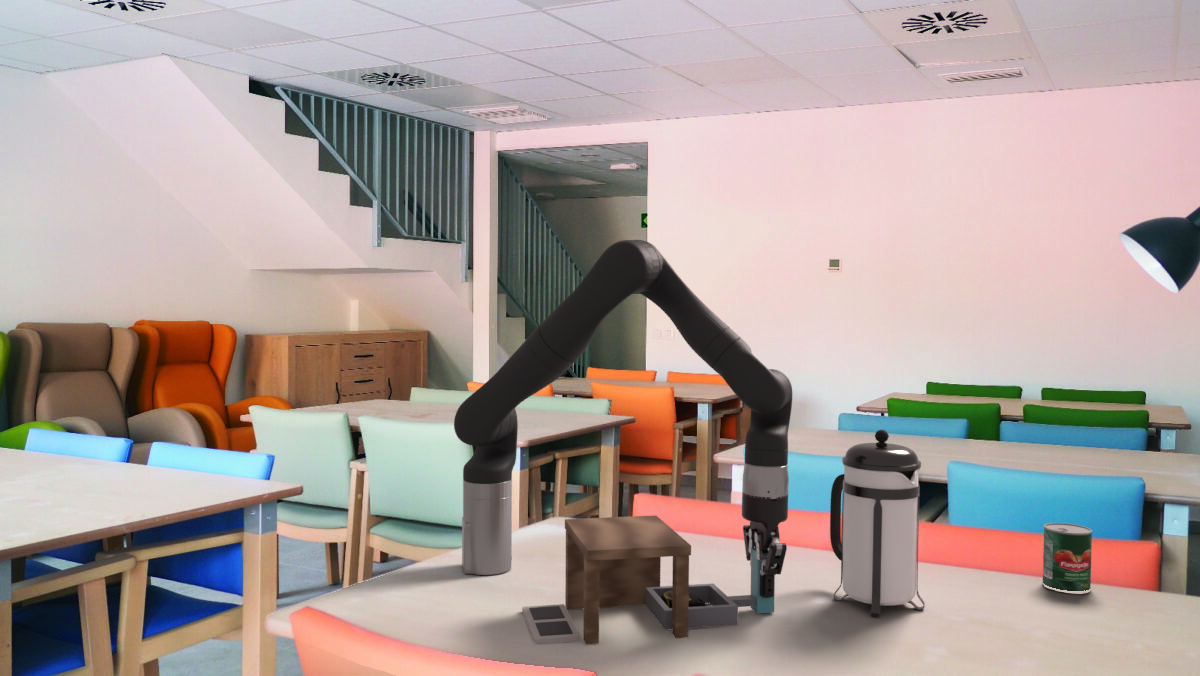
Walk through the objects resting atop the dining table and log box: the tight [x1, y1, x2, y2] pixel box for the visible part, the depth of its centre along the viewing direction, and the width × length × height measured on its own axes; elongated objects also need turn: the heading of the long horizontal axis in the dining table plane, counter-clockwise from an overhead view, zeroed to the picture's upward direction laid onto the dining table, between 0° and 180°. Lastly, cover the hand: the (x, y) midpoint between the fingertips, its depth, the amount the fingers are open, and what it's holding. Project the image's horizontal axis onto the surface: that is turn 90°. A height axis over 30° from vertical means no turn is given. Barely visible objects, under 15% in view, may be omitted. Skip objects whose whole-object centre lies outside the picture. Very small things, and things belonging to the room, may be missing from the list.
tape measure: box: [661, 591, 708, 608], centre depth 153 cm, size 7×7×4 cm
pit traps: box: [521, 603, 582, 645], centre depth 148 cm, size 7×15×1 cm, turn 12°
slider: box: [644, 547, 776, 631], centre depth 154 cm, size 20×12×10 cm, turn 102°
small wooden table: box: [564, 515, 692, 645], centre depth 151 cm, size 16×20×14 cm
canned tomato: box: [1042, 522, 1093, 591], centre depth 170 cm, size 8×8×11 cm
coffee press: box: [829, 429, 925, 618], centre depth 160 cm, size 17×16×30 cm
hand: (762, 593), depth 156 cm, fingers closed on slider, 3 cm apart
